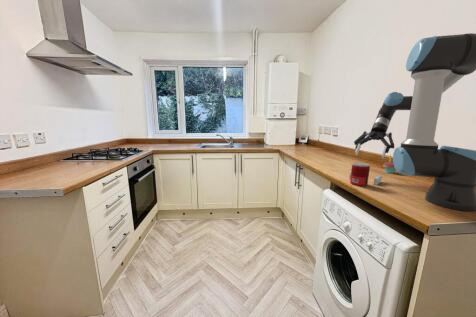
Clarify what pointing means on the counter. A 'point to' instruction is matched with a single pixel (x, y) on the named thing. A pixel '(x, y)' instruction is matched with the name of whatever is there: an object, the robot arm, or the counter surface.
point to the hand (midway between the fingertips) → (368, 155)
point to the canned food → (359, 174)
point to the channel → (376, 179)
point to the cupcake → (389, 166)
